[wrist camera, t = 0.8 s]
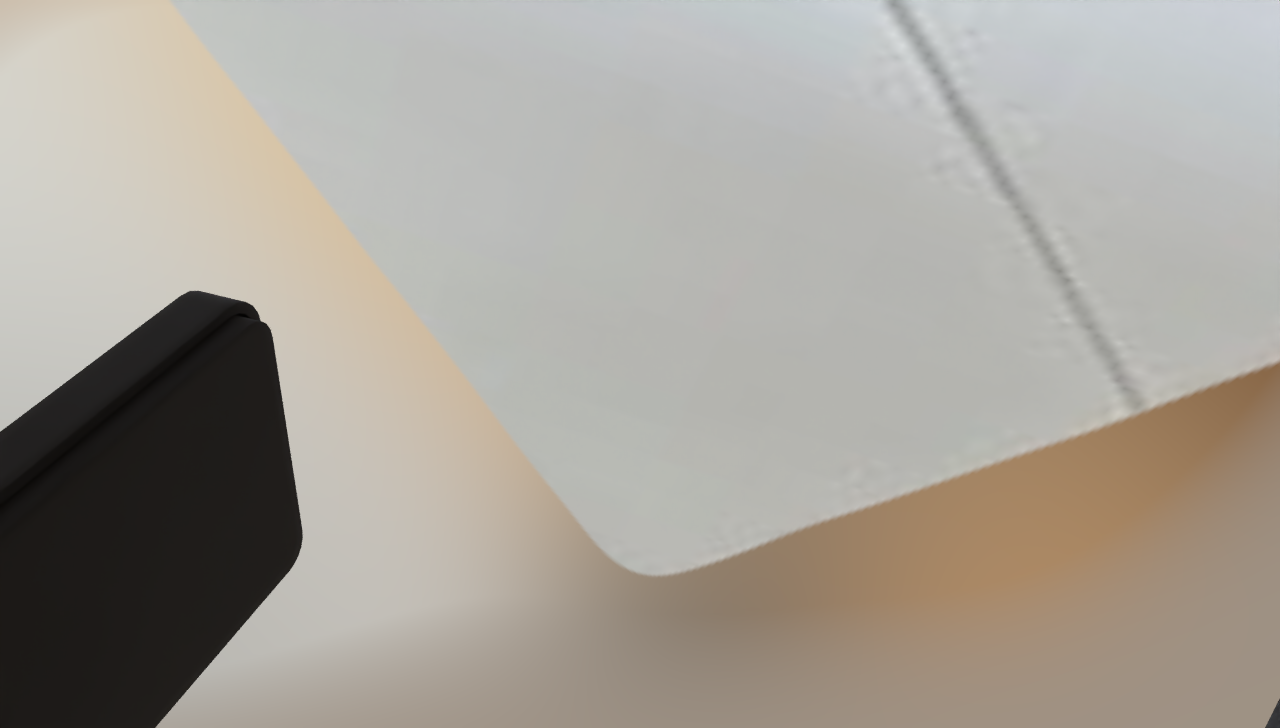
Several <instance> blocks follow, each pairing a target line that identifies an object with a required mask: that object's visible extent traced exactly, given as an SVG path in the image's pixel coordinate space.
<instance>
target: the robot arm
mask: <svg viewBox="0 0 1280 728" xmlns="http://www.w3.org/2000/svg"><path fill="white" fill-rule="evenodd" d="M302 538H303V537H302V526H301V519H300V512H299V505H298V499H297V493H296V486H295V480H294V473H293V467H292V460H291V454H290V447H289V441H288V434H287V428H286V421H285V415H284V408H283V402H282V395H281V389H280V382H279V376H278V369H277V363H276V357H275V350H274V343H273V337H272V333H271V330H270V328H269V327H268V326H267V324H266V323H264V322H261V321H260V318H259V314H258V312H257V311H256V309H255V308H254V307H253V306H252V305H250V304H248V303H246V302H243V301H239V300H235V299H231V298H226V297H222V296H218V295H214V294H210V293H206V292H201V291H189V292H187V293H186V294H183V295H181V296H180V297H179V298H177V299H176V300H175V301H173V302H172V303H171V304H169V305H168V306H167V307H165V308H164V309H163V310H161V311H160V312H159V313H157V314H156V315H155V316H153V317H152V318H151V319H149V320H148V321H147V322H145V323H144V324H143V325H141V327H139V328H137V329H136V330H135V331H134V332H132V333H131V334H130V335H128V336H127V337H126V338H124V339H123V340H122V341H120V342H119V343H118V344H116V345H115V346H114V347H112V348H111V349H110V350H108V351H107V352H106V353H104V354H103V355H102V356H100V357H99V358H98V359H96V360H95V361H94V362H92V363H91V364H90V365H88V366H87V367H86V368H84V369H83V370H82V371H81V372H79V373H78V374H76V375H75V376H74V377H72V378H71V379H70V380H68V381H67V382H66V383H65V384H63V385H62V386H60V387H59V388H58V389H57V390H55V391H54V392H53V393H51V394H50V395H49V396H47V397H46V398H45V399H43V400H42V401H41V402H39V403H38V404H37V405H35V406H34V407H33V408H31V409H30V410H29V411H27V412H26V413H25V414H23V415H22V416H21V417H19V418H18V419H17V420H15V421H14V422H13V423H11V424H10V425H9V426H7V428H5V429H3V430H2V431H1V432H0V728H155V727H156V726H157V725H158V724H159V723H160V721H161V720H162V719H163V718H164V717H165V716H166V714H167V713H168V712H169V711H170V710H171V709H172V707H173V706H174V705H175V704H176V702H178V700H179V699H180V698H181V697H182V696H183V695H184V693H185V692H186V691H187V690H188V689H189V688H190V686H191V685H192V684H193V683H194V682H195V680H196V679H197V678H198V677H199V676H200V675H201V674H202V672H203V671H204V670H205V669H206V668H207V667H208V665H209V664H210V663H211V662H212V661H213V660H214V658H215V657H216V656H217V655H218V654H219V653H220V651H221V650H222V649H223V648H224V647H225V646H226V644H227V643H228V642H229V641H230V640H231V639H232V637H233V636H234V635H235V634H236V632H237V631H238V630H239V629H240V628H241V627H242V626H243V624H244V623H245V622H246V621H247V620H248V619H249V617H250V616H251V615H252V614H253V613H254V611H255V610H256V609H257V608H258V607H259V605H261V603H262V602H263V601H264V600H265V599H266V598H267V596H268V595H269V594H270V593H271V592H272V590H273V589H274V588H275V587H276V586H277V585H278V584H279V582H280V581H281V580H282V579H283V578H284V577H285V575H286V574H287V573H288V572H289V571H290V569H291V568H292V566H293V565H294V563H295V561H296V559H297V557H298V555H299V552H300V549H301V545H302ZM1265 728H1280V699H1279V701H1278V703H1277V705H1276V707H1275V709H1274V711H1273V713H1272V715H1271V717H1270V719H1269V721H1268V724H1267V725H1266V727H1265Z"/></svg>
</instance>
